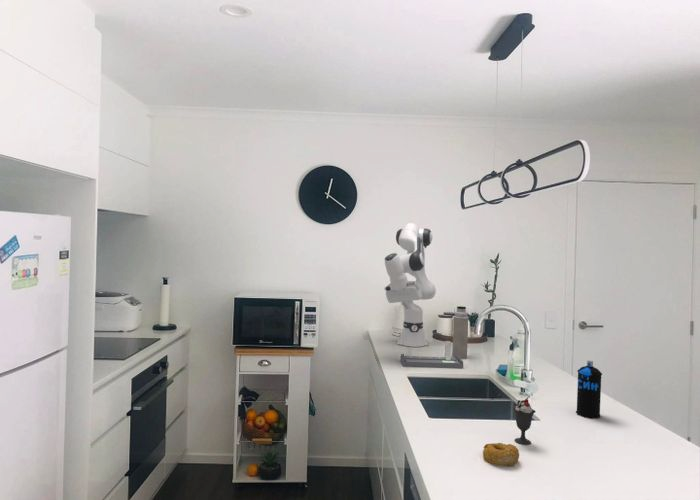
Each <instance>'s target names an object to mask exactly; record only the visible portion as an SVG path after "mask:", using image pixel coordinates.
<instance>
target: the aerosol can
mask: <svg viewBox="0 0 700 500" xmlns="http://www.w3.org/2000/svg"><path fill="white" fill-rule="evenodd" d="M602 375H603V373H602V371H600V370H599V369H598V368H597V367H595V366H594V361H593V360H591V359H588V360H587V361H586V366H585V365H584V366H582V367H580V368H579V369H577V391H576V392H577V396H576V411H575V414H576V413H577V414H576V415H578V416H579V415H581V416H580V417H582V416H584V417H583V418H586V417H588V418H587V419H593V418H596V419H600V418H601V395H602V394H601V391H602Z"/></svg>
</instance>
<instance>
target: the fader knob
mask: <svg viewBox="0 0 700 500" xmlns="http://www.w3.org/2000/svg"><path fill="white" fill-rule="evenodd" d="M444 357H445V359H446V360H451V357H452V342H451V341H449V340H445V341H444Z"/></svg>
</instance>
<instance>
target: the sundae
mask: <svg viewBox="0 0 700 500" xmlns="http://www.w3.org/2000/svg"><path fill="white" fill-rule="evenodd" d="M529 398H531V396H530V395H528V396H527V397H526V399H523V400H520V399H518V400H517V402H516V403H517V404H516V406H513V407H512V411H514V413H515V415H514V416H515V421H516V423H515V424H516V426H517V428H518V429H519V430H520V432H521V433H520V434H521V435H520V437H516V438H514V441H515V443H517V444H519V445H523V446H530V445H531V444H532V440H530V439H528V438H526V431H528V430H529V429H530V428H531V427H532V426H531V425H532V422H533V421H532V420H533V416H534V414H536V410H535V409H533V408H532V406H531V404H530V403H529V402H530V401H529Z"/></svg>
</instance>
